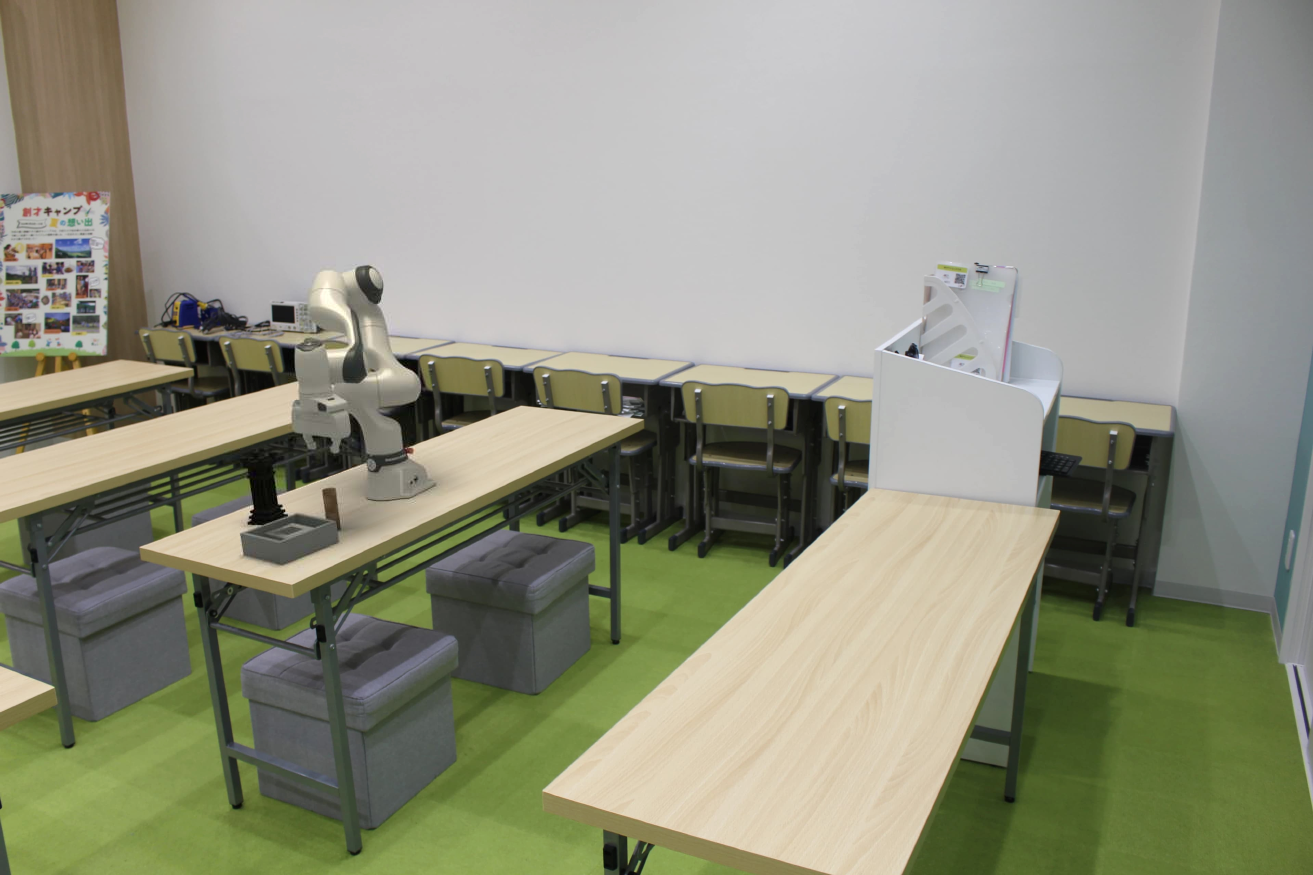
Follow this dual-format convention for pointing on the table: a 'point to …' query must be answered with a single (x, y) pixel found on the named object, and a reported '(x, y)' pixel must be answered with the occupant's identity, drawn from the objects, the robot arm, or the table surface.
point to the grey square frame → (286, 531)
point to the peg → (331, 505)
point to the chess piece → (263, 488)
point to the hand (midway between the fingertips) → (323, 450)
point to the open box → (289, 539)
